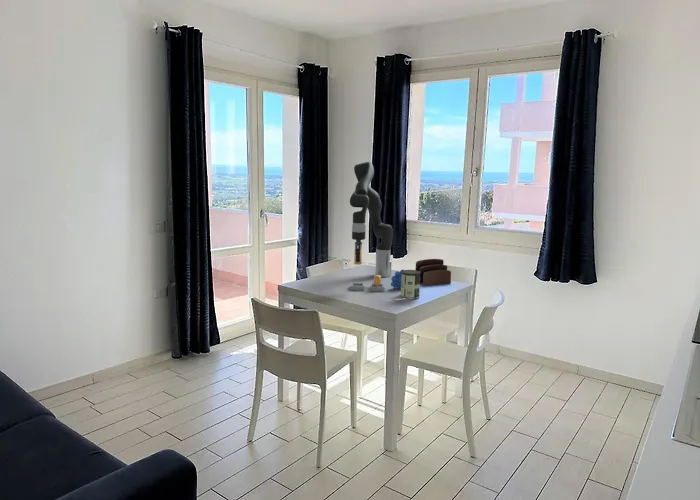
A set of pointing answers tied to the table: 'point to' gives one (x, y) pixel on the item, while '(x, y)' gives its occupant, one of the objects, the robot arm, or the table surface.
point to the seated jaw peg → (377, 280)
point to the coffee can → (410, 284)
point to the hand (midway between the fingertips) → (357, 260)
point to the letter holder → (433, 272)
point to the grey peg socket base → (362, 287)
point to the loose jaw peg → (360, 258)
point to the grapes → (396, 280)
